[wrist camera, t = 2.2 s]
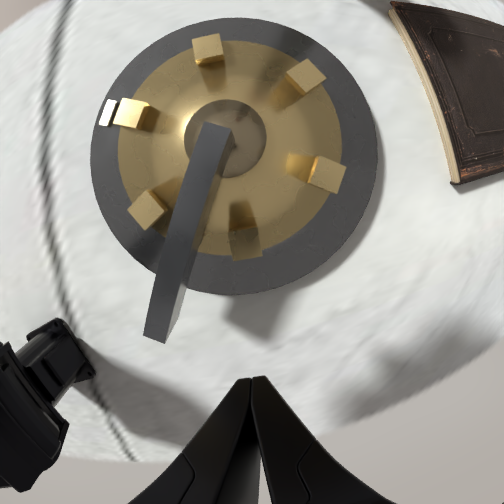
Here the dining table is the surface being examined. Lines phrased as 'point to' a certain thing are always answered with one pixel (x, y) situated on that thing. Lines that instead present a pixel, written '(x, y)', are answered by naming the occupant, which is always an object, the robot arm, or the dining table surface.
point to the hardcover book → (459, 83)
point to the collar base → (299, 244)
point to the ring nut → (225, 158)
